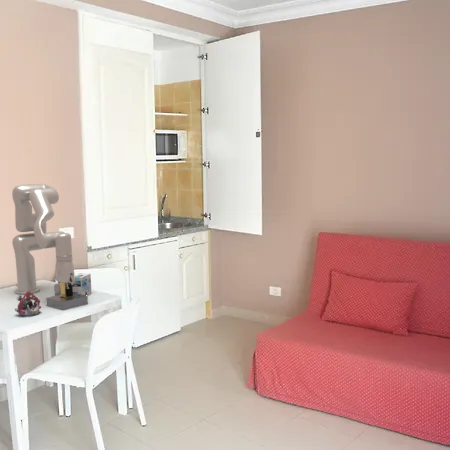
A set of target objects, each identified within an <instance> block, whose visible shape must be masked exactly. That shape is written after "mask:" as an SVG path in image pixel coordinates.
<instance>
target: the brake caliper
mask: <svg viewBox="0 0 450 450" xmlns="http://www.w3.org/2000/svg"><path fill="white" fill-rule="evenodd" d="M17 295H18V296H17V297H16V300H17V301H18V302H19V303H18V304H17V307H15V308H14V311H15V312H16V313H18V315H19V316H21V317H28V318H29V317H33V316H37V315H38V316H39V314H42V312H41V311H40V309H42V306H41V305H40V302H41V301H40V299H39V298H38V297H37V296H36V295H34V293H31V292H30V291H27V292H26V293H25V294H23V296H22V294H17Z"/></svg>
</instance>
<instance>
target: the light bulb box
mask: <svg viewBox="0 0 450 450" xmlns="http://www.w3.org/2000/svg"><path fill="white" fill-rule="evenodd" d="M91 275H92V274H91V273H78V274H74V276H75V284H74V286H73V293H77V294H81V295H87V296H89V295H91V294H92V292H93V291H92V279H91V278H92V277H91ZM90 293H91V294H90ZM88 294H89V295H88Z"/></svg>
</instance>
